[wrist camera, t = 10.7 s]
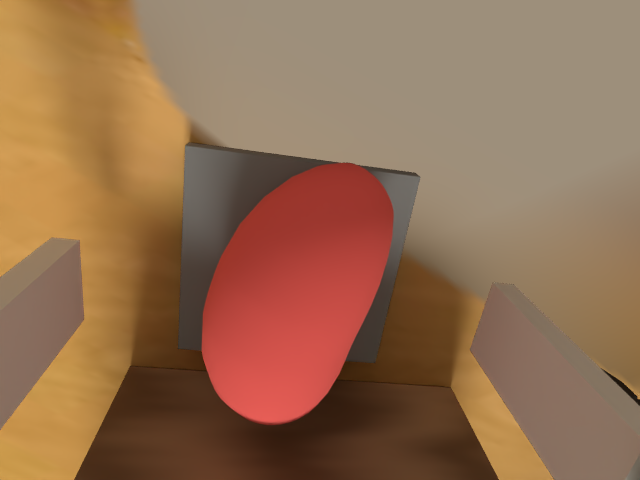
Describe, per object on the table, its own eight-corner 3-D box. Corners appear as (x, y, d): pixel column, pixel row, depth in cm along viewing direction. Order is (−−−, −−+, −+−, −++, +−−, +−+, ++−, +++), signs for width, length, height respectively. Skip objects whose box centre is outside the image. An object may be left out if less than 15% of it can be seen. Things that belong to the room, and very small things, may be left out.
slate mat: (415, 172, 16) (420, 176, 15) (372, 354, 19) (375, 363, 18) (189, 142, 15) (185, 145, 14) (181, 339, 18) (177, 348, 17)
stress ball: (165, 285, 17) (161, 452, 14) (263, 107, 12) (304, 304, 8) (279, 300, 20) (302, 444, 16) (401, 161, 15) (481, 328, 11)
